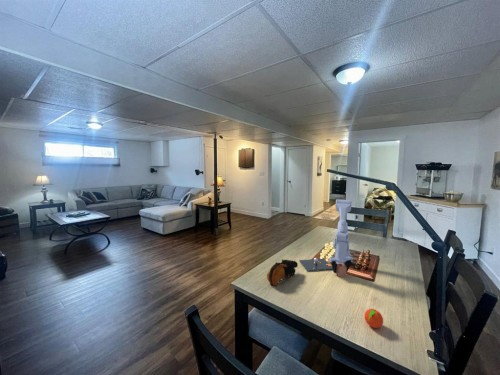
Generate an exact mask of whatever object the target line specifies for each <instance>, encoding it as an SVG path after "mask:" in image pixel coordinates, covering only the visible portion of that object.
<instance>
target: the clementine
mask: <svg viewBox="0 0 500 375" xmlns="http://www.w3.org/2000/svg"><path fill="white" fill-rule="evenodd" d="M364 320H365V322H366V324H367V325H369V327H371V328H373V329H378V328H381V327H382V326H383V324H384V317H383V315H382V314H381V312H379V311H378V310H377V309H374V308H369V309H367V310H365V312H364Z"/></svg>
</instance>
